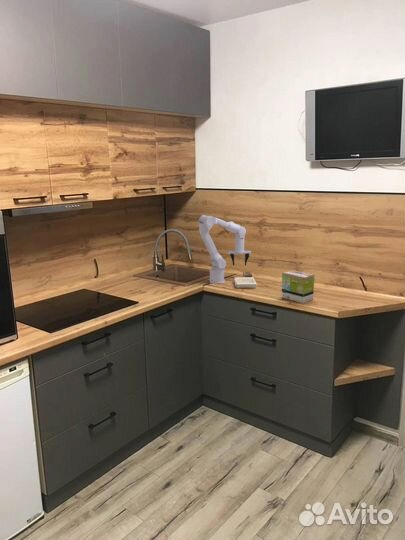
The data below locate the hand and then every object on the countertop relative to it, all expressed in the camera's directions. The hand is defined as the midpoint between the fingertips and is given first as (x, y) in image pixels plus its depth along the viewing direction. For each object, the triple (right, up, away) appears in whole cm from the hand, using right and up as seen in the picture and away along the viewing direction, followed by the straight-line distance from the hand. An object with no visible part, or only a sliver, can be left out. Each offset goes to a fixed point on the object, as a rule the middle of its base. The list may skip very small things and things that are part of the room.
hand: (239, 265), depth 301 cm
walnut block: (+5, -10, -2) cm, 11 cm away
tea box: (+29, -20, -43) cm, 56 cm away
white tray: (+2, -13, -15) cm, 20 cm away
